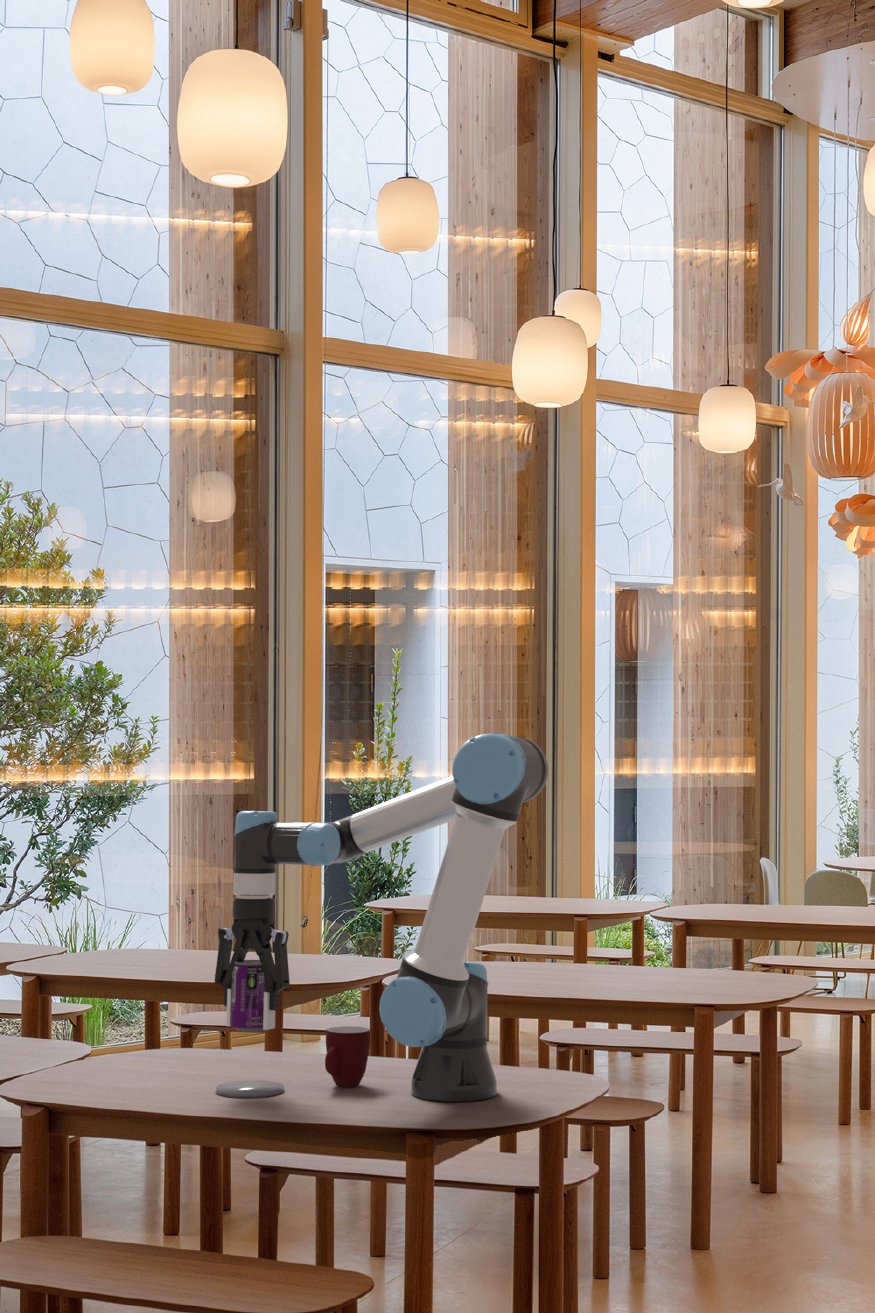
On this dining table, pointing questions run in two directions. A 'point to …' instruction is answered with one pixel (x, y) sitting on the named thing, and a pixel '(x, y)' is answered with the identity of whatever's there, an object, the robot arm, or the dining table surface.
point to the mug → (347, 1054)
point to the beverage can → (248, 996)
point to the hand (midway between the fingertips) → (250, 1027)
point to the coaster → (249, 1089)
